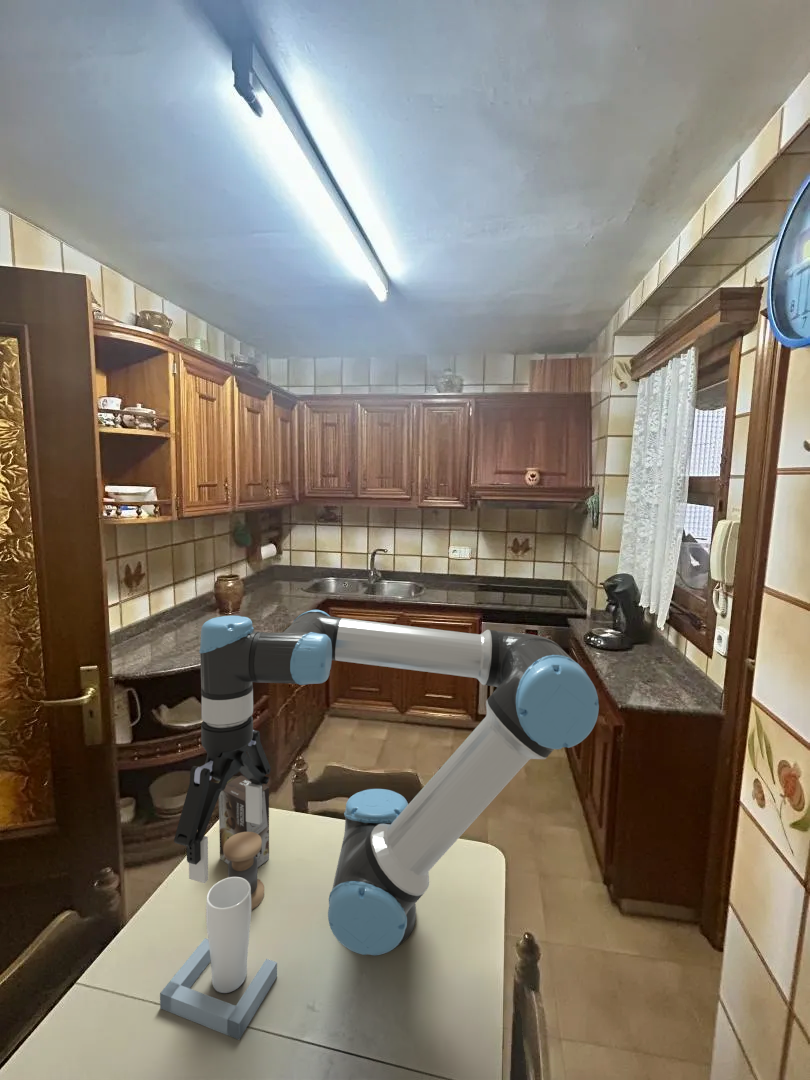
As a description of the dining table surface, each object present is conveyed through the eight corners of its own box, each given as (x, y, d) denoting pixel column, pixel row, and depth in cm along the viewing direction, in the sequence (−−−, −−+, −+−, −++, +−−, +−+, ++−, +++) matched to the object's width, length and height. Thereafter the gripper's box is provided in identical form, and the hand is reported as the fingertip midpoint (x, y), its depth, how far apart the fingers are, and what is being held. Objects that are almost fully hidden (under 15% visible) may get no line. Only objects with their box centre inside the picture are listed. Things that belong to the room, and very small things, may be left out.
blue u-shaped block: (277, 976, 80) (277, 962, 80) (239, 1039, 71) (239, 1023, 71) (205, 951, 85) (205, 938, 84) (160, 1008, 75) (160, 993, 75)
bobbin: (272, 887, 99) (272, 835, 98) (248, 919, 91) (248, 862, 90) (238, 877, 101) (237, 826, 100) (211, 907, 94) (211, 852, 93)
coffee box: (270, 858, 107) (270, 786, 106) (246, 877, 101) (246, 801, 100) (242, 842, 112) (242, 773, 111) (218, 859, 106) (217, 787, 105)
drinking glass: (206, 1006, 76) (205, 914, 74) (207, 966, 82) (206, 881, 81) (252, 992, 78) (252, 902, 77) (250, 954, 84) (250, 871, 83)
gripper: (253, 686, 89) (254, 798, 91) (143, 752, 66) (146, 902, 67) (290, 691, 87) (290, 806, 89) (190, 761, 63) (192, 917, 65)
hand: (228, 848), depth 78 cm, fingers open, 13 cm apart
